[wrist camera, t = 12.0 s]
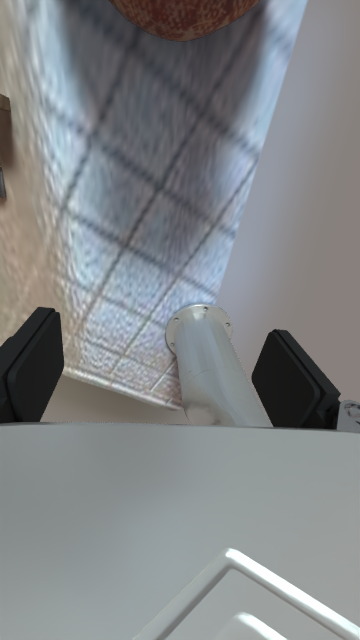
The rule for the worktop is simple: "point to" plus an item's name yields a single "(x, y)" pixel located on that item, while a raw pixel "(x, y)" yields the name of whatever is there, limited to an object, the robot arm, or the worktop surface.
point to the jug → (182, 16)
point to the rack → (3, 103)
